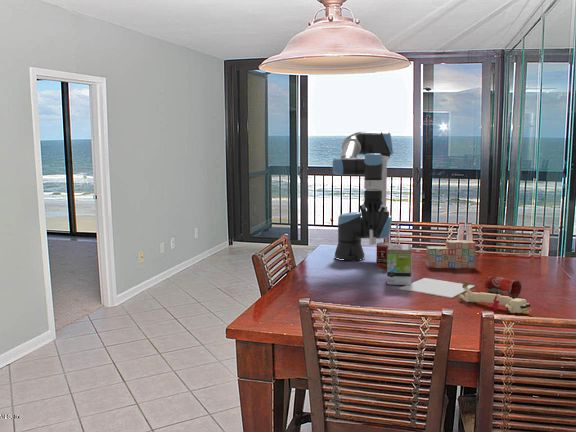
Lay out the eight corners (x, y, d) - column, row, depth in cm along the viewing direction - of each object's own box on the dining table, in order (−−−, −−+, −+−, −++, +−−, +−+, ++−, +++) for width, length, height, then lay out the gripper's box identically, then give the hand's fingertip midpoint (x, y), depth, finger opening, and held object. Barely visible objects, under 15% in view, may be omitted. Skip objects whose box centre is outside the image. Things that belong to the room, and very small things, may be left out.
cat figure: (455, 307, 201) (523, 316, 182) (454, 283, 200) (522, 290, 182) (470, 301, 207) (536, 310, 189) (469, 278, 207) (536, 285, 188)
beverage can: (493, 290, 218) (493, 273, 217) (521, 296, 209) (522, 279, 208) (482, 293, 214) (482, 276, 213) (510, 299, 204) (511, 282, 204)
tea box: (411, 285, 225) (411, 249, 223) (386, 285, 227) (386, 249, 225) (411, 277, 239) (411, 243, 238) (387, 277, 241) (387, 243, 240)
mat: (399, 289, 221) (399, 288, 221) (424, 278, 238) (424, 277, 238) (451, 298, 207) (451, 297, 207) (474, 286, 223) (474, 285, 223)
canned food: (374, 267, 261) (374, 244, 260) (379, 264, 268) (379, 241, 267) (389, 269, 257) (390, 245, 256) (395, 265, 264) (395, 242, 263)
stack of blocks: (428, 268, 259) (429, 242, 257) (425, 265, 265) (426, 240, 263) (475, 268, 257) (476, 242, 256) (471, 265, 264) (472, 239, 262)
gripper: (355, 189, 238) (355, 244, 241) (381, 191, 230) (381, 247, 233) (364, 188, 244) (364, 241, 247) (391, 189, 235) (390, 244, 238)
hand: (372, 244), depth 240 cm, fingers closed
